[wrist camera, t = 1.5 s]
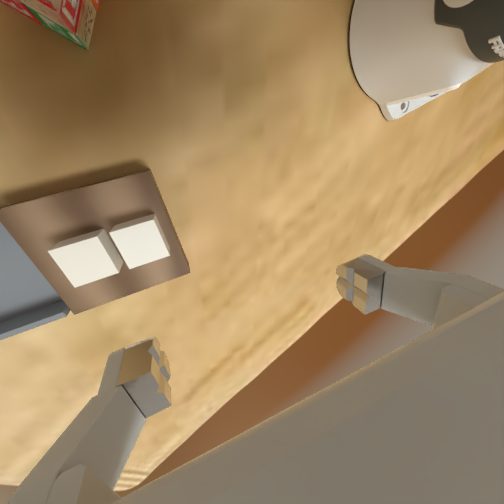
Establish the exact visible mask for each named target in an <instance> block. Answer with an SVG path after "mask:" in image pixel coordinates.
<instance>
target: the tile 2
mask: <svg viewBox="0 0 504 504" xmlns="http://www.w3.org/2000/svg"><path fill="white" fill-rule="evenodd" d="M109 234H110V236H111V237H112V239H113V241H114V243H115V244H116V246H117V248H118V250H119V251H120V253H121V255H122V257H123V259H124V260H125V262H126V264H127V266H128V267H129V269H132V268H135V267H138V266H141V265H144V264H147V263H150V262H153V261H156V260H159V259H161V258H164V257H167V256H170V247H169V244H168V242H167V240H166V237H165V235H164V233H163V231H162V228H161V226H160V224H159V221H158V219H157V217H156V215H155V213H154V214H151V215H148V216H144V217H141V218H137V219H134V220H131V221H127V222H124V223H120V224H117V225H114V227H113V228H112V229H111V231H110V232H109Z"/></svg>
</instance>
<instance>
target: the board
mask: <svg viewBox="0 0 504 504" xmlns="http://www.w3.org/2000/svg"><path fill="white" fill-rule="evenodd" d="M154 213H155V215H156V217H157V219H158V221H159V224H160V226H161V228H162V231H163V233H164V235H165V237H166V240H167V242H168V244H169V247H170V256H167V257H164V258H161V259H159V260H156V261H153V262H150V263H147V264H144V265H141V266H138V267H135V268H132V269H129V267H128V266H127V264H126V262H125V260H124V259H123V257H122V255H121V253H120V251H119V250H118V248H117V246H116V244H115V243H114V241H113V239H112V237H111V236H110V234H109V232H110V231H111V229H112V228H113V227H114V225H117V224H120V223H124V222H127V221H131V220H134V219H137V218H141V217H144V216H148V215H151V214H154ZM0 222H1V223H2V224H3V226H4V227H5V228H6V229H7V231H8V232H9V233H10V235H11V236H12V237H13V238H14V240H15V241H16V242H17V243H18V245H19V246H20V247H21V248H22V250H23V251H24V252H25V253H26V255H27V256H28V257H29V258H30V260H31V261H32V262H33V263H34V265H35V266H36V267H37V268H38V270H39V271H40V272H41V273H42V275H43V276H44V277H45V278H46V280H47V281H48V282H49V283H50V285H51V286H52V287H53V288H54V290H55V291H56V292H57V293H58V295H59V296H60V297H61V298H62V300H63V301H64V302H65V303H66V305H67V306H68V307H69V308H70V310H71V311H72V312H73V313H74V315H75V314H78V313H80V312H83V311H86V310H89V309H91V308H94V307H97V306H100V305H103V304H105V303H108V302H111V301H114V300H116V299H119V298H122V297H125V296H127V295H130V294H133V293H136V292H139V291H141V290H144V289H147V288H150V287H152V286H155V285H158V284H161V283H163V282H166V281H169V280H172V279H175V278H177V277H180V276H183V275H186V274H188V273H190V269H189V263H188V260H187V258H186V256H185V253H184V251H183V248H182V246H181V243H180V241H179V238H178V236H177V233H176V231H175V229H174V226H173V224H172V221H171V219H170V216H169V214H168V211H167V209H166V206H165V204H164V202H163V199H162V197H161V194H160V192H159V189H158V187H157V184H156V182H155V180H154V177H153V175H152V172H151V170H146V171H142V172H138V173H134V174H130V175H126V176H122V177H118V178H114V179H110V180H106V181H102V182H98V183H94V184H90V185H87V186H83V187H79V188H75V189H71V190H67V191H63V192H59V193H55V194H51V195H47V196H43V197H39V198H35V199H31V200H27V201H23V202H19V203H15V204H12V205H8V206H5V207H2V208H0ZM103 228H104V229H105V231H106V232H107V234H108V236H109V238H110V240H111V241H112V243H113V245H114V247H115V248H116V250H117V252H118V254H119V255H120V257H121V259H122V261H123V264H122V267H121V269H120V272H119V273H117V274H114V275H111V276H108V277H105V278H102V279H99V280H96V281H93V282H90V283H88V284H85V285H82V286H79V287H76V288H74V286H73V285H72V284H71V282H70V281H69V280H68V278H67V277H66V275H65V274H64V273H63V271H62V270H61V269H60V267H59V266H58V265H57V263H56V262H55V261H54V259H53V258H52V257H51V255H50V254H49V252H48V250H50V249H51V248H52V247H53V246H55V245H56V244H57V243H58V242H60V241H63V240H66V239H69V238H73V237H76V236H80V235H83V234H86V233H90V232H93V231H97V230H100V229H103Z"/></svg>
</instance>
